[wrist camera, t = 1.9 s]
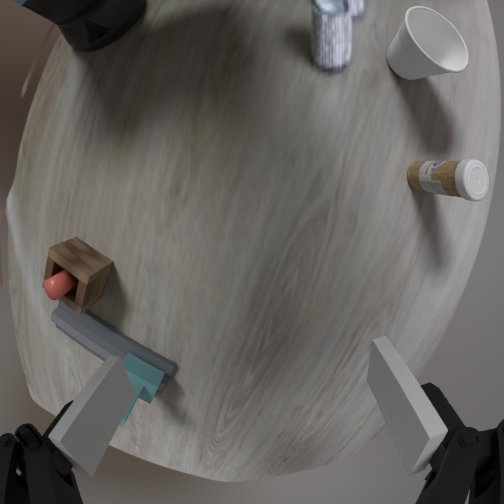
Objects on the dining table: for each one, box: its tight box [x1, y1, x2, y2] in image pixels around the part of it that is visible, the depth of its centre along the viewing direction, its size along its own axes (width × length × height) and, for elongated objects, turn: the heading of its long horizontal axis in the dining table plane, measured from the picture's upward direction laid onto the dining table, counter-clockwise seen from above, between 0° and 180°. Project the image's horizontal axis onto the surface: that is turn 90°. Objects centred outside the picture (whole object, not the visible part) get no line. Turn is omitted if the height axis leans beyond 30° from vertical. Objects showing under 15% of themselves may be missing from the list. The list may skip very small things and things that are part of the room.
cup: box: [387, 6, 469, 80], centre depth 24 cm, size 10×10×11 cm
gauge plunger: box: [44, 270, 77, 300], centre depth 31 cm, size 3×3×4 cm
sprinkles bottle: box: [408, 159, 489, 201], centre depth 27 cm, size 5×5×14 cm
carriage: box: [119, 353, 165, 427], centre depth 36 cm, size 7×5×12 cm
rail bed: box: [51, 300, 176, 393], centre depth 41 cm, size 24×8×3 cm, turn 61°
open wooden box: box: [43, 237, 113, 315], centre depth 35 cm, size 8×7×7 cm
